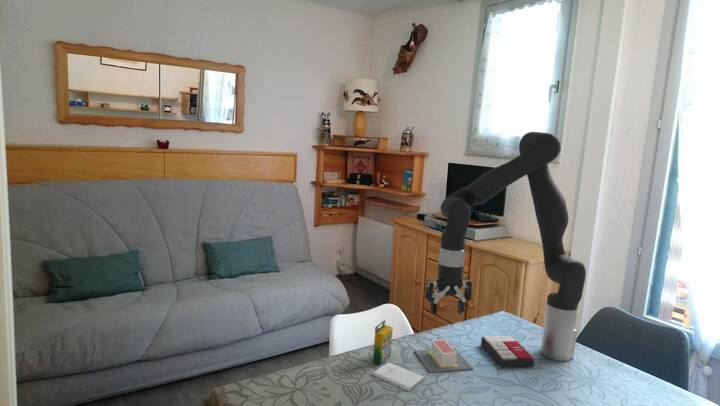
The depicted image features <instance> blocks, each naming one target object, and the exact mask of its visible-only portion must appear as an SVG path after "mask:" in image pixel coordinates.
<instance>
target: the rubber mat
mask: <svg viewBox="0 0 720 406" xmlns="http://www.w3.org/2000/svg"><path fill="white" fill-rule="evenodd" d="M452 348H453V349H454V351H455V352H456V353H457V356H456V365H453V366H441V364H440V363H439V362H438V361H437V359H436V358H435V357H434V356H433V354H432V353H431V349H418V350H414V353H415V355H416V356H417V357H418V359H419V360H420V361H421V363H422V365H423V366H424V367H425V369H426V370H427V371H428V373H430V374H431V373H433V374H434V373H446V372H447V373H448V372H457V371H458V372H461V371H472V370H474V368H473V366H471V364H470V363H469V362H468V361H467V360H466V359H465V358H464V357H463V356H462V355H461V353H459V351H458V350H457V349H456V348H455V347H452Z"/></svg>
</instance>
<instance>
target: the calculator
mask: <svg viewBox="0 0 720 406" xmlns="http://www.w3.org/2000/svg"><path fill="white" fill-rule="evenodd" d="M480 347H481V349H482V350H484V351H485V352H486V353H487V354H488V355H489V357H491V358H490V359H492V360H493V361H494V362H495V363H496V365H497V366H499V367H500V369H514V368H515V369H517V368H518V369H519V368H520V369H521V368H534V364H535V358H534V357H533V355H531V354H530V353H529V351H527V350H526V349H525V348H524V347H523V346H522V345H521V344H520V343H519V342H518V341H517V340H516V339H515V338H513V337H512V335H494V336H493V335H492V336H491V335H490V336H489V335H488V336H487V335H486V336H482V337H481V341H480Z"/></svg>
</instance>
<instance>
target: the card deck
mask: <svg viewBox="0 0 720 406" xmlns="http://www.w3.org/2000/svg"><path fill="white" fill-rule="evenodd" d="M430 346H431V347H430V348H431V349H430V350H431V353H432V354H433V356H434V357H435V358H436V359H437V361H438V362H439V363H440V364H441V366H453V365H456V356H457V353H456V352H455V351H454V349H453V348H454V347H452V346H451V345H450V344H449V342H447V341H446V340H445V339H440V340H439V339H438V340H437V339H436V340H431V345H430Z"/></svg>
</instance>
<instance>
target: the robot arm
mask: <svg viewBox="0 0 720 406" xmlns="http://www.w3.org/2000/svg"><path fill="white" fill-rule="evenodd" d="M561 148H562V145H561V141H560V139H559V138H558V136H556V135H555V134H552V133H550V132H540V131H529V132H527V133H525V134H524V135H523V136H522V137H521V138H520V140H519V144H518V149H519V150H518V151H519V155H518V156H516V157H514V158H513V159H511V160H509V161H507V162H506V163H505V162H504V163H503V164H500V165H499V166H496V167H494V168H492V169H490V170H488V171H487V172H485V173H483V174H482V175H480V176H479V177H478V178H476V179H475V180H473V181H472V182H471V183H470V184H469V185H467V186H464V187H462V188H460V189H458V190H457V191H455V192H453V193H451V194H449V195H448V196H447V197H446V198H445V199H444V200H443V201H442V202H441V205H440V211H441V214H442V215H443V216H444V217H445V218H446V219H447V220H446V226H445V228H444V229H442V232H441V239H440V250H439V253H438V264H437V265H438V266H437V279H436V281H431V280H430V279H429V280H427V282H426V288H425V294H424V295H425V296H424V298H425V300H427V302H429V303H430V309H429V310H430V312H431V314H432V315H433V316H437V314H438V302H439V301H440V300H441V299H442V298H443V297H444V296H446V297H447V296H453V297H454V296H457V298H458V300H457V307H456V308H457V310H456V311H457V313H458V314H460V315H461V314H463V312H464V311H465V304H466V302H467V301H471V300H472V287H473V284H472V281H471V280H469V279H467V278H466V279H465V280H463V278H464V277H463V276H464V267H465V243H466V235H467V232H468V228H469V225H470V220H471V216H472V215H471V213H472V211H471V208H472V207H474V206H477V205H478V206H479V205H483V204H485V203H486V202H487V201H489V200H491V199H492V198H493V197H495V196H496V195H498V194H499V193H500V192H502V191H503V190H504V189H506V188H507V187H509V186H510V185H511V184H512V185H513V184H514V183H515V182H517V181H518V180H519V179H522V178H523V177H525V176H526V177H527V179H528V184H529V189H530V194H531V198H532V201H533V207H534V208H533V209H534V212H535V217H536V222H537V224H538V230H539V234H540V235H539V236H540V239H541V245H542V253H543V260H544V261H543V262H544V270H545V274H546V276H547V278H548V279H549V280H551V281H552V282H554V283H556V284H558V285H559V287H558V290H557V292H551V293H549V294H548V295H547V298H546V307H545V315H544V323H543V328H542V329H543V330H542V337H541V338H542V339H541V346H540V353H541V355H543V356H544V357H545V358H548V359H551V360H552V361H558V362H567V361H570V360H571V359H574V356H575V349H576V342H577V333H578V332H577V331H578V330H577V329H576V321H577V314H578V307H579V304H580V302H581V299H582V297H583V291H584V286H585V282H586V278H587V277H586V275H587V272H586V267H585V264H584V263H582V262H581V261H579V260H578V259H574V258H572V257H570V256H567V254H566V251H565V248H564V244H563V238H564V234H565V232H566V230H567V227H568V224H569V212H568V208H567V203H566V199H565V196H564V195H563V192H562V191H561V189H560V188H559V185H558V183H556V181H555V179H554V177H553V175H552V173H551V171H550V166H549V164H550V163H552V162H553V161H555V159H557V158H558V156H559V155H560V152H561V150H562V149H561ZM436 287H437V288H436ZM462 287H463V288H464V289H463V290H464V292H462V291H461V289H462ZM435 288H436V289H435ZM434 289H435V291H434ZM463 293H464V294H463Z"/></svg>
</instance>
